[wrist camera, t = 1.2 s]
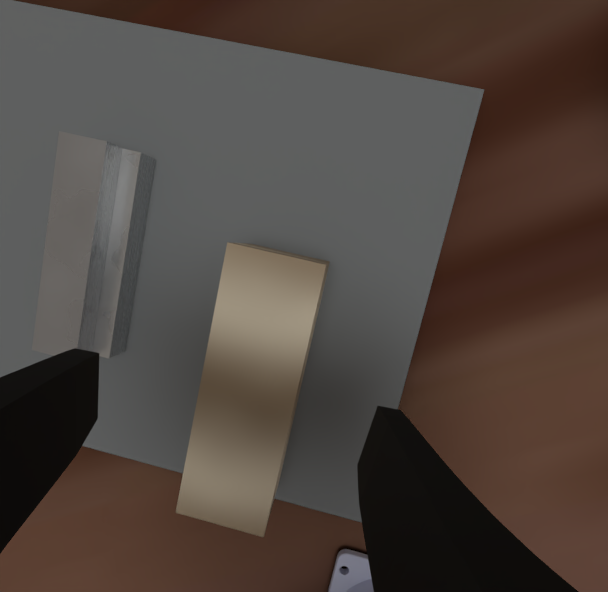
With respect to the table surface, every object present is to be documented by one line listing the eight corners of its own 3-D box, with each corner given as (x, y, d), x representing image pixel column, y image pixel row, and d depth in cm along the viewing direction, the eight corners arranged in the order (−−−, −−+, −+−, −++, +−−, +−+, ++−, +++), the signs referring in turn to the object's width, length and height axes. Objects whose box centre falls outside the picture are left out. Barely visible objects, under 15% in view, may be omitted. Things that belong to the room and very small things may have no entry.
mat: (366, 515, 21) (366, 523, 20) (-36, 406, 23) (-46, 410, 22) (479, 94, 18) (484, 89, 17) (4, 4, 20) (-6, -4, 19)
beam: (278, 481, 21) (263, 537, 17) (207, 462, 21) (175, 512, 17) (329, 261, 19) (326, 264, 15) (251, 243, 19) (227, 242, 15)
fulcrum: (125, 350, 21) (93, 365, 18) (56, 333, 21) (14, 345, 18) (156, 159, 19) (126, 145, 16) (81, 143, 19) (39, 126, 17)
